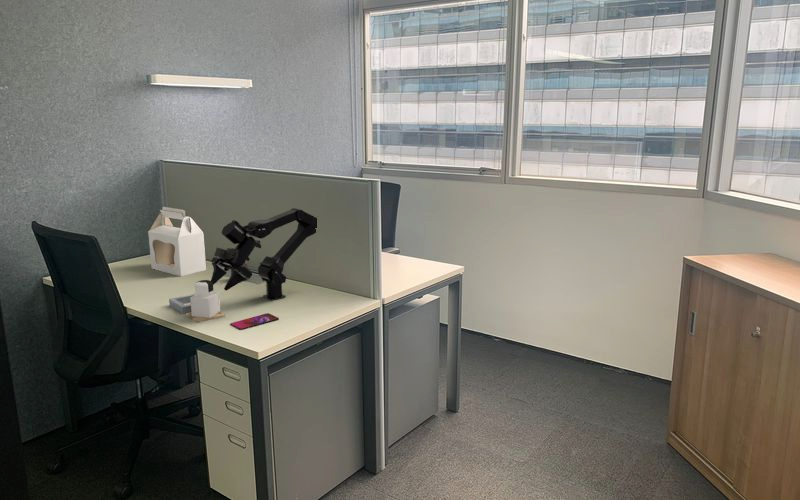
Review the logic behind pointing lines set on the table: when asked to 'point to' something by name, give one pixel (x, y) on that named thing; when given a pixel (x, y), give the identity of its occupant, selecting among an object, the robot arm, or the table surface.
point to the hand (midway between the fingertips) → (217, 287)
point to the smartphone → (254, 321)
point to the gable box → (176, 244)
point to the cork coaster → (200, 319)
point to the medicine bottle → (204, 300)
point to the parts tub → (181, 303)
